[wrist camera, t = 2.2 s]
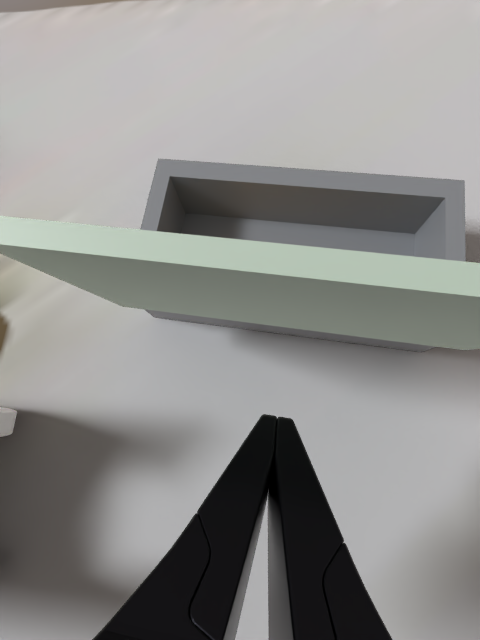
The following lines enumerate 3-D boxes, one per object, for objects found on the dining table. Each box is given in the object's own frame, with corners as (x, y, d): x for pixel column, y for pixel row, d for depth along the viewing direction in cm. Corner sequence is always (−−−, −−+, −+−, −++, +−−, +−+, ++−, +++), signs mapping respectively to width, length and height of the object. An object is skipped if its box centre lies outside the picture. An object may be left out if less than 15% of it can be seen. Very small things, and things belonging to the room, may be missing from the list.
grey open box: (421, 352, 21) (466, 335, 16) (154, 317, 23) (124, 293, 18) (423, 227, 23) (464, 180, 19) (179, 205, 25) (158, 158, 21)
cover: (466, 334, 16) (465, 350, 16) (125, 292, 18) (122, 306, 18) (714, 286, 7) (716, 322, 7) (-21, 213, 9) (-28, 241, 9)
